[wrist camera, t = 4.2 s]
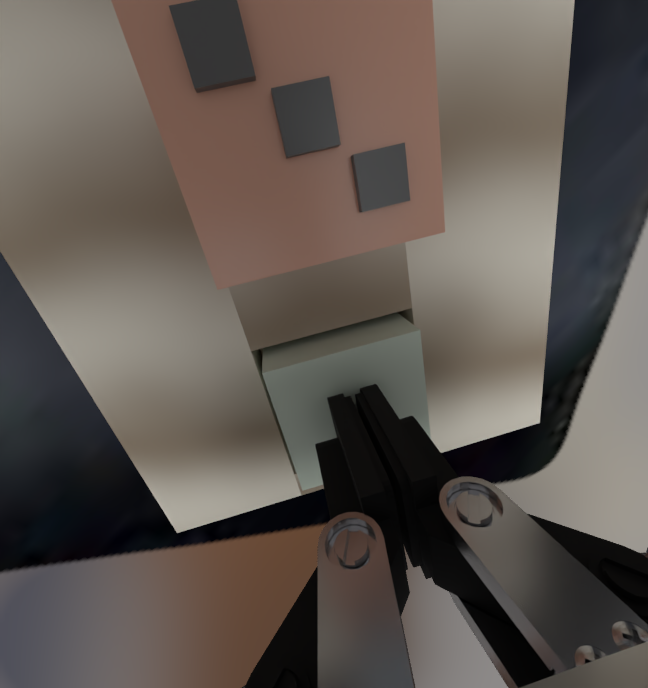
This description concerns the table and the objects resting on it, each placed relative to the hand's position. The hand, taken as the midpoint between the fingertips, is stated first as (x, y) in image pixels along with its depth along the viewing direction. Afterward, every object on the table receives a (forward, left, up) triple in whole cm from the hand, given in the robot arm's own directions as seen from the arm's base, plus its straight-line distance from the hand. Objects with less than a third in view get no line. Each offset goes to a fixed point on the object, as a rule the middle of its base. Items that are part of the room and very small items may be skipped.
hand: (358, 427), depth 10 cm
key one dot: (0, 0, -3) cm, 3 cm away
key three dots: (-8, 0, -1) cm, 8 cm away
